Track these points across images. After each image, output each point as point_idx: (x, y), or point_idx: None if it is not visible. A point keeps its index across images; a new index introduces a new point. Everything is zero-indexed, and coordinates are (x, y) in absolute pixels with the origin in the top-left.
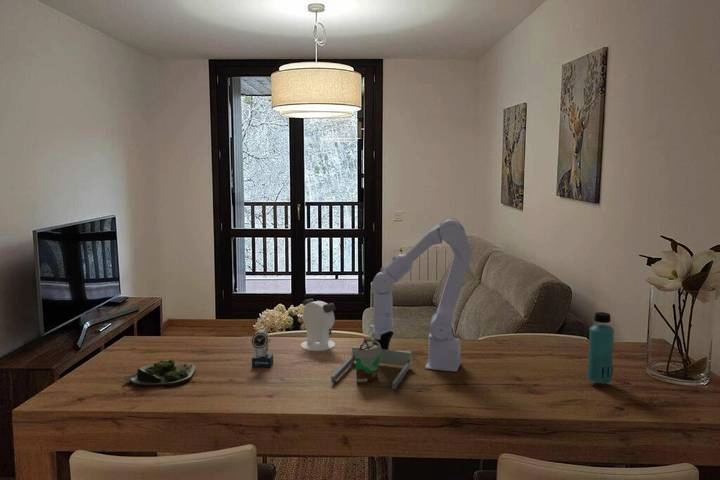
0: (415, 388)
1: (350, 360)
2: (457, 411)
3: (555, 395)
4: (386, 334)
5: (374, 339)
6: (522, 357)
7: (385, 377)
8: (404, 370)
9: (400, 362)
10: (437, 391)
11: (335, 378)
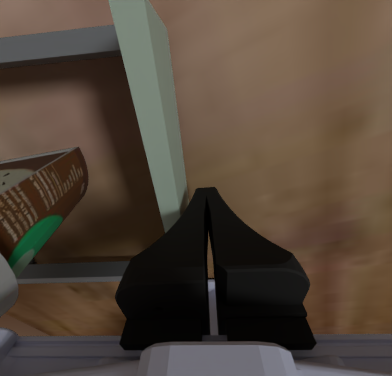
0: (80, 283)
1: (53, 57)
2: (48, 327)
3: None
4: (218, 329)
5: (147, 250)
6: None
7: (92, 222)
8: (107, 279)
9: None
10: (96, 306)
11: None
